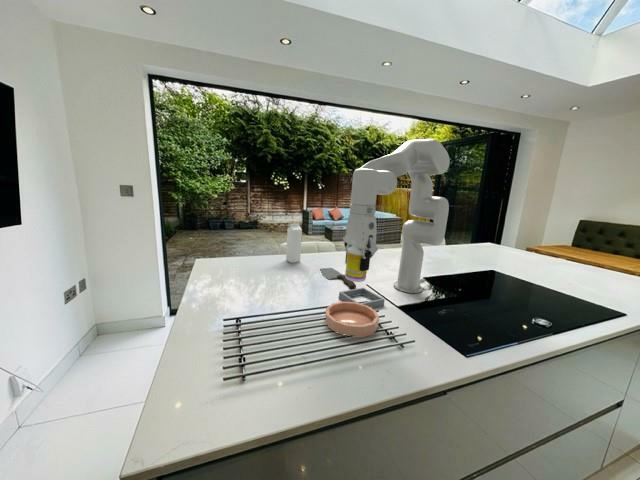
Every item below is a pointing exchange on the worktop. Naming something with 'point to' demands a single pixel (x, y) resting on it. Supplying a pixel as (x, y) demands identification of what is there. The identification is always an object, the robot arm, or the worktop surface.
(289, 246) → the milk
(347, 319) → the bowl
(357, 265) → the supplement bottle
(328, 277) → the cleaver
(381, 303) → the grey square frame
